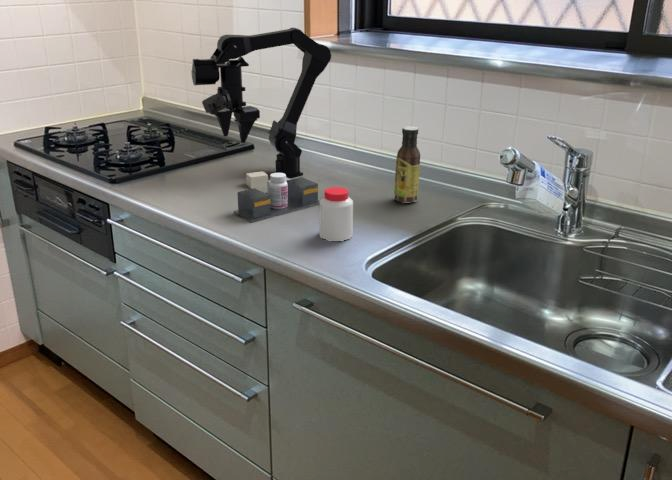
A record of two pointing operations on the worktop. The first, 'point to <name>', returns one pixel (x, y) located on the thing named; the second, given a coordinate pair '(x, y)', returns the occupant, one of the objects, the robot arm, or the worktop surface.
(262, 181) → the cream rectangular block
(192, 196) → the worktop surface
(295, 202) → the dark grey block rack
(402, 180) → the sauce bottle
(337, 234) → the pill bottle
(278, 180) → the pill bottle
